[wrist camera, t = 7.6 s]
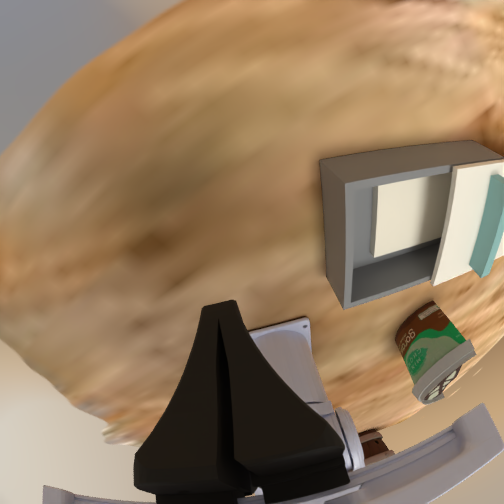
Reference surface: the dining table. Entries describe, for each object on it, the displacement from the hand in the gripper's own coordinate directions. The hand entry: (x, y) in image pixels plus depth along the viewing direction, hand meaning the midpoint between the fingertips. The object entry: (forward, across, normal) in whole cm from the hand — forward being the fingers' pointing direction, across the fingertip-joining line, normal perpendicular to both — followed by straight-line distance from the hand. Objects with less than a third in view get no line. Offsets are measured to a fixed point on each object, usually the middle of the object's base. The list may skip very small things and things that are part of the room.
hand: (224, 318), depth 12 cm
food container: (+11, -20, +24) cm, 33 cm away
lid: (+6, -25, +4) cm, 26 cm away
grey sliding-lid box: (+10, -16, +4) cm, 19 cm away
